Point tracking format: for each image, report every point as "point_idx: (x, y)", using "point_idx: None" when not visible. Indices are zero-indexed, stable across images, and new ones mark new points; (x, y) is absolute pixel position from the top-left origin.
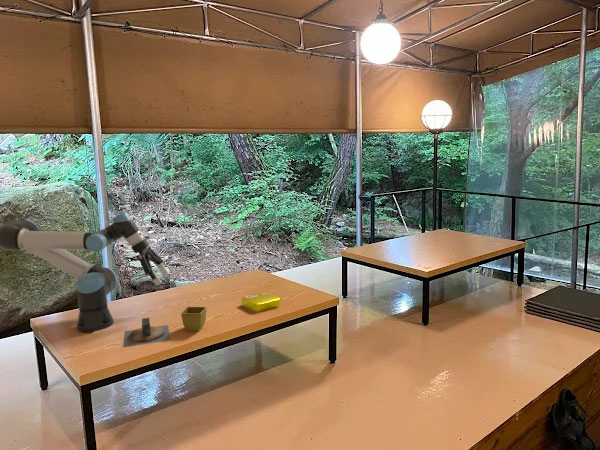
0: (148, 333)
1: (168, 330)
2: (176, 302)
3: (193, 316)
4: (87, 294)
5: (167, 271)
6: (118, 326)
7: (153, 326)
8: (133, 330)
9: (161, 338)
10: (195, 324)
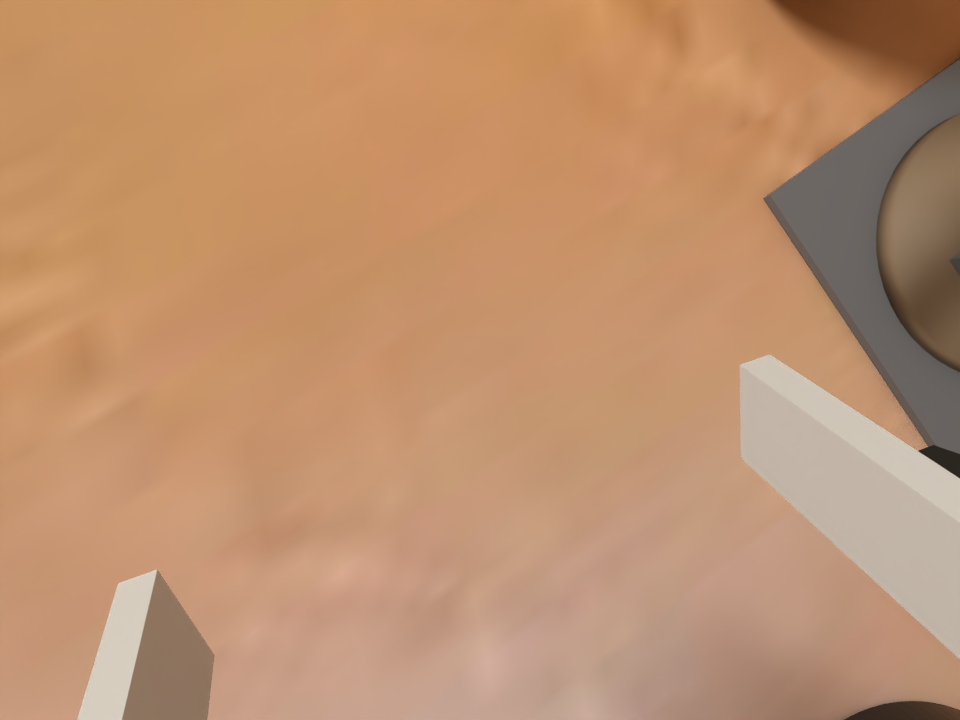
0: None
1: (878, 121)
2: (121, 502)
3: None
4: None
5: (102, 641)
6: (858, 642)
7: (896, 264)
8: (941, 426)
9: None
10: None
